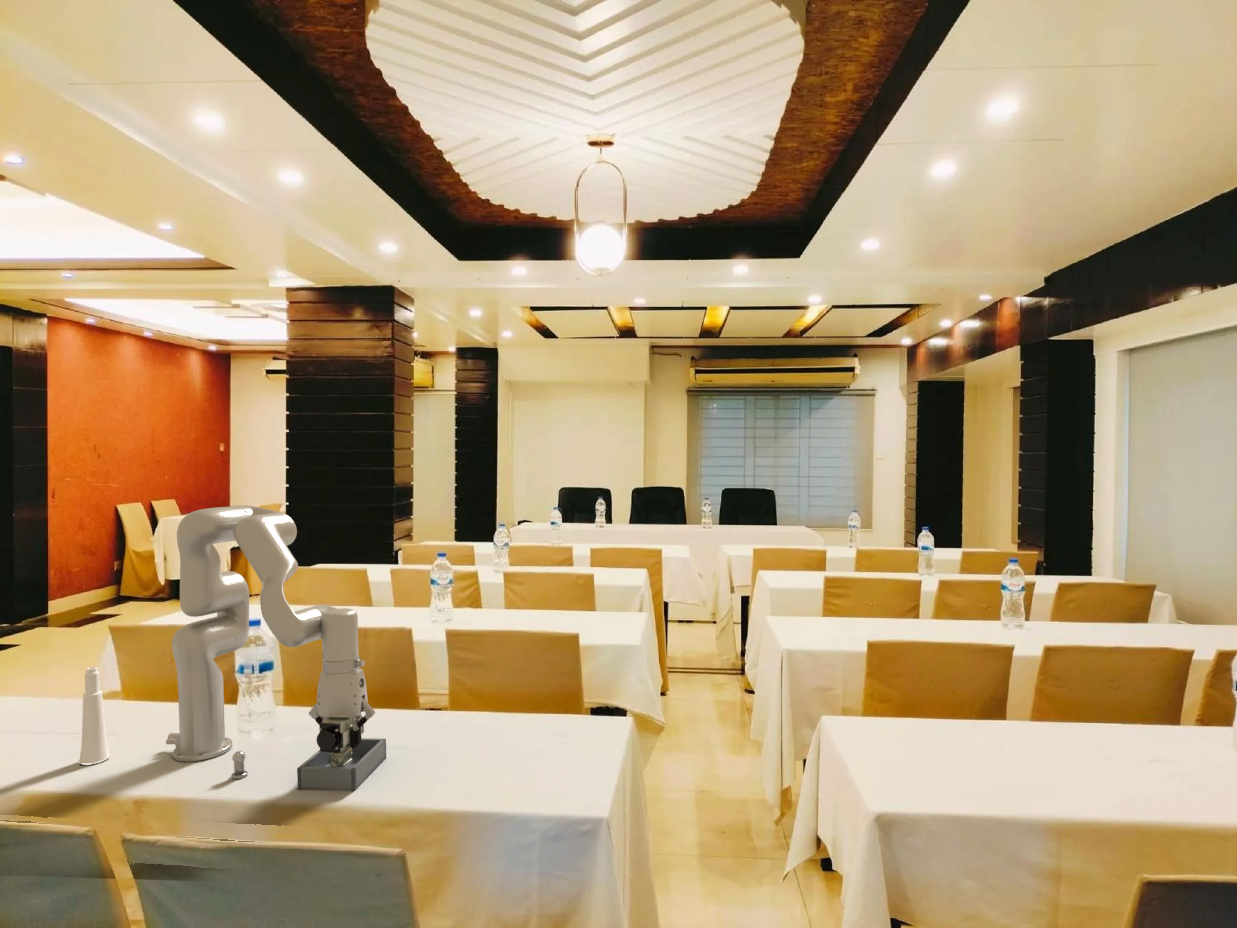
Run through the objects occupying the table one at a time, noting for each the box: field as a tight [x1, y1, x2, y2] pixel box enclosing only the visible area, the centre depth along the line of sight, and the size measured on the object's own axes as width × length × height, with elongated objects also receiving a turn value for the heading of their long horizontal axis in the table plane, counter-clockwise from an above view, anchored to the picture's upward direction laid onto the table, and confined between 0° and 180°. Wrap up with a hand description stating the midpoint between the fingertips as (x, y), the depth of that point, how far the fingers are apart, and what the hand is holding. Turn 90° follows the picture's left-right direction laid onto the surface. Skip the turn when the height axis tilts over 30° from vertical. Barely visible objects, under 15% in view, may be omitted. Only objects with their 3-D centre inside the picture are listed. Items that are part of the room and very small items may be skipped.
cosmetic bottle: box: [78, 666, 111, 763], centre depth 174 cm, size 6×6×22 cm
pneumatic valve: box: [316, 712, 365, 767], centre depth 164 cm, size 6×12×12 cm, turn 168°
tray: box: [296, 737, 387, 792], centre depth 164 cm, size 13×17×5 cm
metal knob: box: [230, 750, 249, 781], centre depth 163 cm, size 3×3×6 cm
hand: (342, 745), depth 164 cm, fingers closed on pneumatic valve, 5 cm apart
